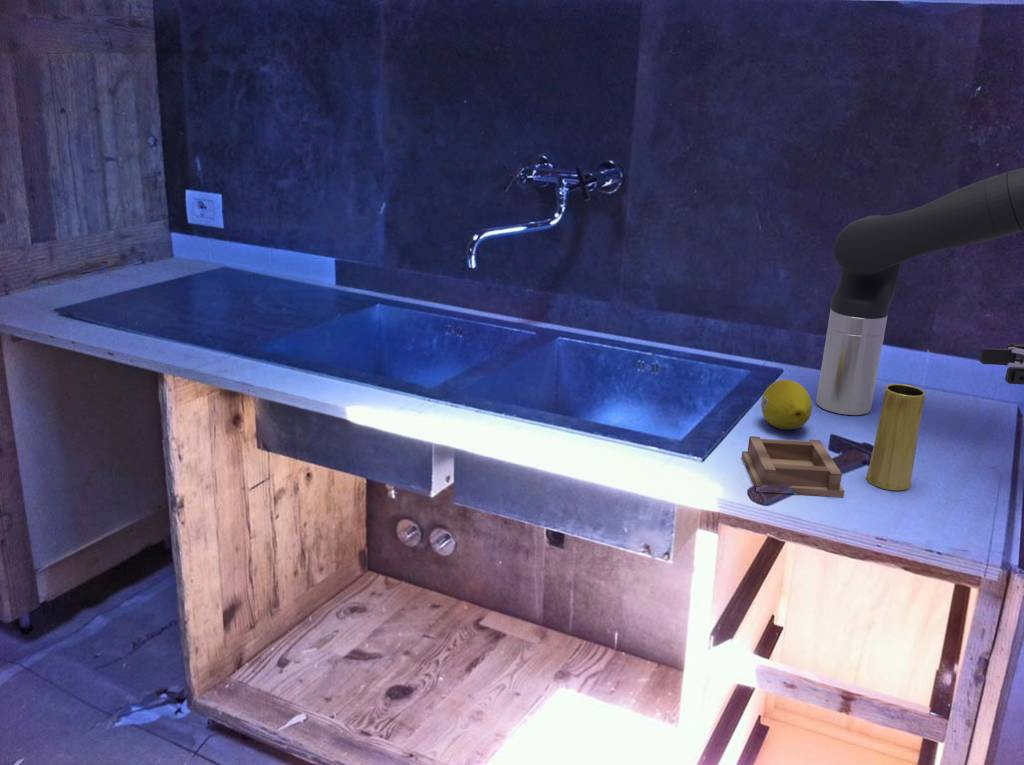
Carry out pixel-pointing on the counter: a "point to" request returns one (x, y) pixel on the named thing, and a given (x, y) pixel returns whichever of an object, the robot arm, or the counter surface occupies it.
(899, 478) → the vase
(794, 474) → the socket block
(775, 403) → the lemon
